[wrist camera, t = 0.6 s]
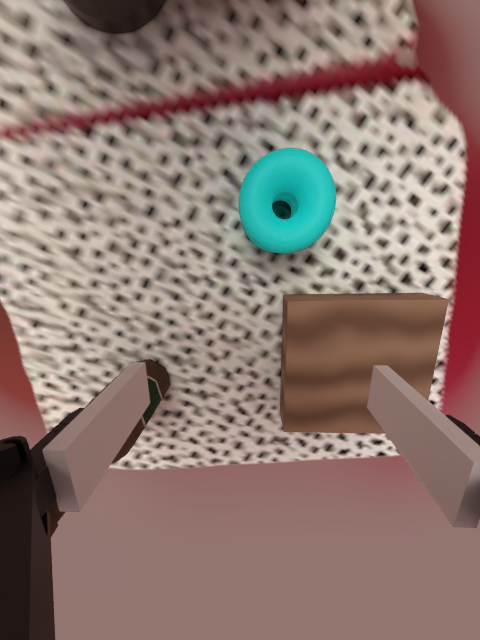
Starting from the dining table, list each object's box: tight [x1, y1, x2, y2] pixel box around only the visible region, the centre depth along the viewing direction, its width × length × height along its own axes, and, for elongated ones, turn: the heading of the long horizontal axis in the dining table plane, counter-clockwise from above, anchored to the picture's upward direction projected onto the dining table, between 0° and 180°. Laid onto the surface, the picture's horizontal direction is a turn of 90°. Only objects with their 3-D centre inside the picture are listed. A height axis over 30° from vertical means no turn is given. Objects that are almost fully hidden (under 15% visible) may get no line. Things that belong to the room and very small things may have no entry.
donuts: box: [239, 148, 336, 253], centre depth 30 cm, size 10×10×10 cm
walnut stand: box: [280, 293, 449, 433], centre depth 37 cm, size 20×20×5 cm
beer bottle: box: [48, 359, 170, 537], centre depth 30 cm, size 8×8×24 cm
